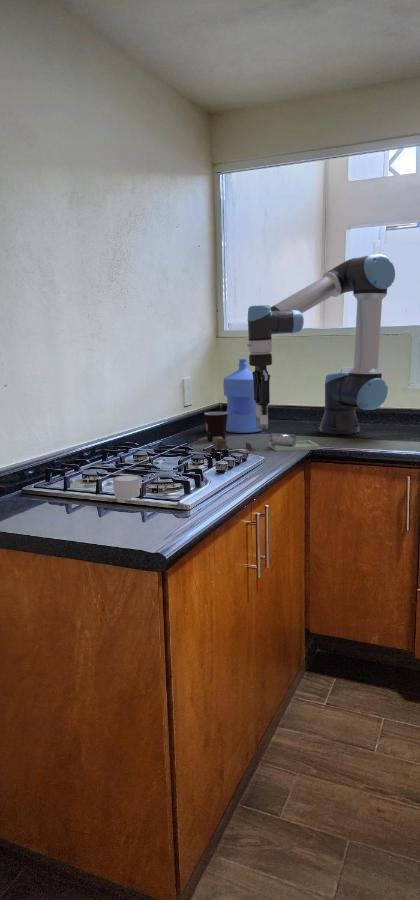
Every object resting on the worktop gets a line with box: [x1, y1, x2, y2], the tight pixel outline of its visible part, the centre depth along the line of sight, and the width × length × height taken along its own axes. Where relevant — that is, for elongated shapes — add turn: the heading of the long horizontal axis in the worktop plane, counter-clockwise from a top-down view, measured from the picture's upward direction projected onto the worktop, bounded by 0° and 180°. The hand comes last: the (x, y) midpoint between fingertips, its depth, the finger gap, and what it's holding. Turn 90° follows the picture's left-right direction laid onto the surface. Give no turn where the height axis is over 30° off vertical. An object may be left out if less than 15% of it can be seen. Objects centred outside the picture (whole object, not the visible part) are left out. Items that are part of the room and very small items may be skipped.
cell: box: [256, 403, 269, 430], centre depth 203 cm, size 4×4×9 cm
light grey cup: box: [111, 474, 143, 503], centre depth 141 cm, size 7×7×7 cm
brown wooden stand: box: [211, 436, 253, 450], centre depth 200 cm, size 12×9×5 cm
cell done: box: [268, 432, 297, 447], centre depth 202 cm, size 4×4×9 cm
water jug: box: [222, 358, 263, 434], centre depth 237 cm, size 16×16×28 cm
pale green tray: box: [268, 439, 321, 452], centre depth 203 cm, size 15×10×1 cm, turn 100°
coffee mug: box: [203, 411, 228, 442], centre depth 220 cm, size 12×9×10 cm
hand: (262, 423), depth 203 cm, fingers closed on cell, 3 cm apart
